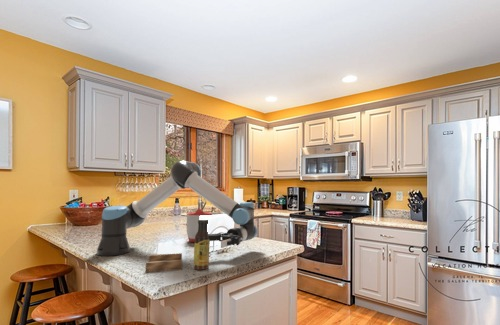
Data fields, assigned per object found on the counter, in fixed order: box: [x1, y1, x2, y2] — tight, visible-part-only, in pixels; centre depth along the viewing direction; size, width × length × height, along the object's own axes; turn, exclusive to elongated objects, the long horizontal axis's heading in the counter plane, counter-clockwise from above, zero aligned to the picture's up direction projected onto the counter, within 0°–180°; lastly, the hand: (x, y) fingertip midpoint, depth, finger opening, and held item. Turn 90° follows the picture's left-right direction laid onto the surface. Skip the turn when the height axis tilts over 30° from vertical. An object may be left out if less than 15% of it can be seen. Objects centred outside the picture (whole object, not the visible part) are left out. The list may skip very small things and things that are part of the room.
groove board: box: [145, 252, 183, 273], centre depth 122 cm, size 14×13×3 cm
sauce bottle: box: [193, 220, 211, 271], centre depth 119 cm, size 6×6×20 cm
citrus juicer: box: [186, 208, 213, 243], centre depth 176 cm, size 16×17×20 cm
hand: (208, 242), depth 122 cm, fingers open, 13 cm apart
